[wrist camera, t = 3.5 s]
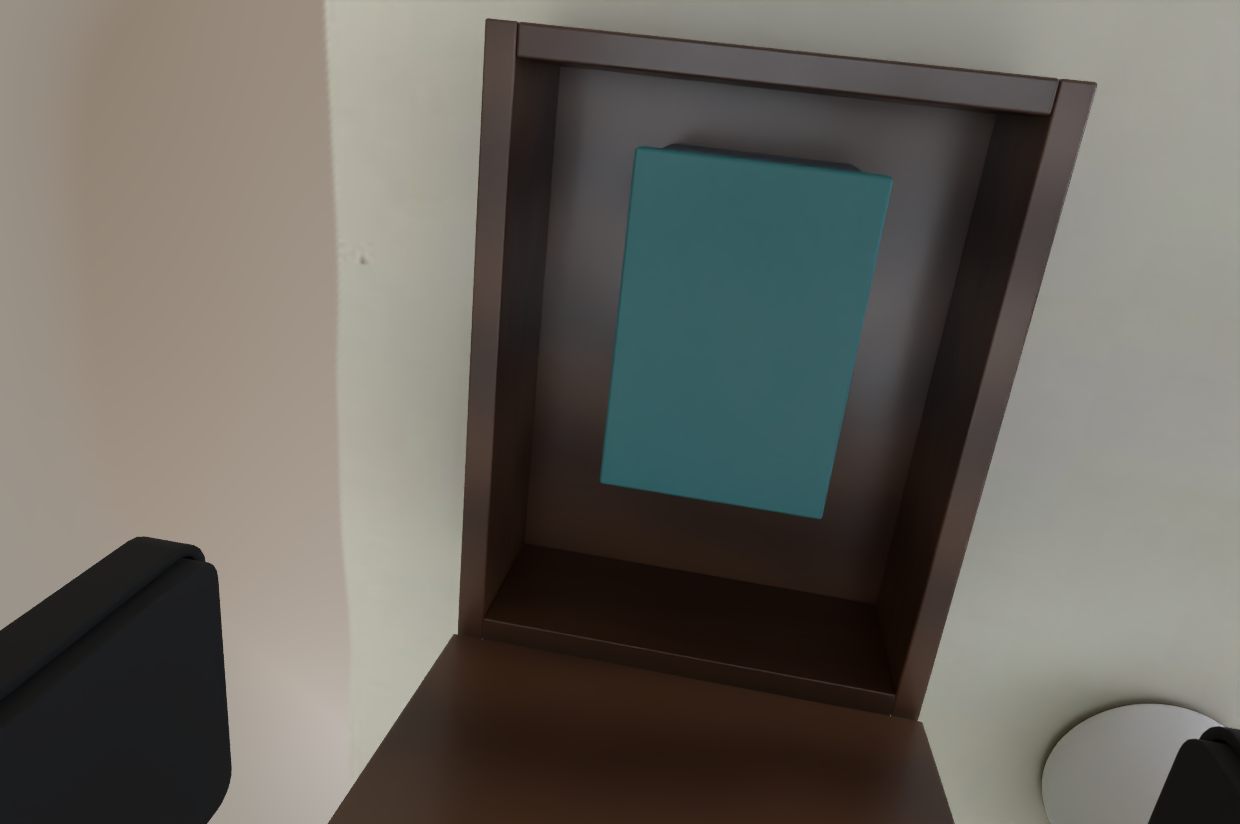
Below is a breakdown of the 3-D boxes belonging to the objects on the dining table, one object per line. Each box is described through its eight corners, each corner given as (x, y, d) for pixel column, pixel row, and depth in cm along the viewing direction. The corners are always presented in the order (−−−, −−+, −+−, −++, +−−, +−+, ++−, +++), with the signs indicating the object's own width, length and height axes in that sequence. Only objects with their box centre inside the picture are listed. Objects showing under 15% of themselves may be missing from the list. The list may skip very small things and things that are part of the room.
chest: (542, 35, 29) (485, 18, 23) (1025, 87, 27) (1099, 82, 21) (508, 547, 36) (457, 635, 30) (891, 614, 34) (917, 722, 28)
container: (666, 136, 29) (634, 146, 21) (861, 159, 28) (894, 177, 21) (635, 399, 32) (598, 484, 25) (808, 426, 31) (822, 521, 24)
